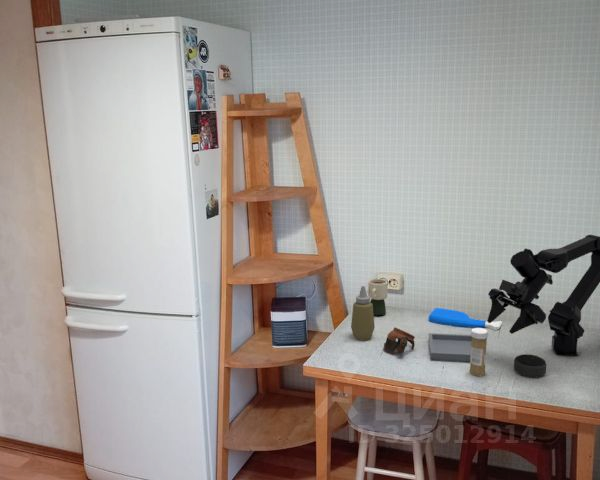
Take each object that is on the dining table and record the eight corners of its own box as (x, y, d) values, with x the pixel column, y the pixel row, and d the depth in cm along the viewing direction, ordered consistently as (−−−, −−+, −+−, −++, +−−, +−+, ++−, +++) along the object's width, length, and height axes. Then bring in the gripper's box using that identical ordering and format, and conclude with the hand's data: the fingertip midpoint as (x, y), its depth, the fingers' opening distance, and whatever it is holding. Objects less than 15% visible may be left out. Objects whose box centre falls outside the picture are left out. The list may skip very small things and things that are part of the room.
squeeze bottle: (347, 339, 198) (347, 289, 194) (354, 331, 205) (354, 282, 201) (371, 343, 195) (371, 291, 191) (377, 334, 202) (377, 284, 198)
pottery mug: (378, 347, 193) (388, 324, 193) (403, 358, 194) (413, 335, 194) (387, 352, 181) (398, 328, 181) (414, 365, 182) (425, 340, 182)
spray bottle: (427, 315, 212) (497, 327, 200) (435, 306, 221) (503, 317, 210) (427, 323, 212) (497, 335, 201) (435, 313, 222) (502, 325, 210)
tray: (477, 342, 194) (478, 335, 193) (484, 363, 178) (485, 355, 178) (428, 340, 196) (428, 333, 196) (430, 360, 181) (431, 352, 180)
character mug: (373, 308, 227) (373, 276, 224) (391, 310, 224) (391, 278, 221) (363, 317, 218) (363, 284, 215) (381, 320, 215) (382, 286, 212)
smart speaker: (508, 373, 172) (509, 360, 171) (520, 363, 178) (521, 350, 177) (539, 382, 166) (540, 369, 165) (550, 371, 173) (551, 358, 172)
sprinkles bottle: (488, 373, 171) (491, 330, 168) (478, 377, 169) (480, 334, 166) (476, 368, 175) (478, 325, 172) (465, 372, 173) (468, 329, 170)
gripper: (494, 262, 178) (463, 302, 177) (541, 278, 162) (508, 322, 160) (513, 284, 183) (483, 322, 181) (560, 301, 167) (528, 344, 165)
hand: (499, 327), depth 172 cm, fingers open, 9 cm apart
